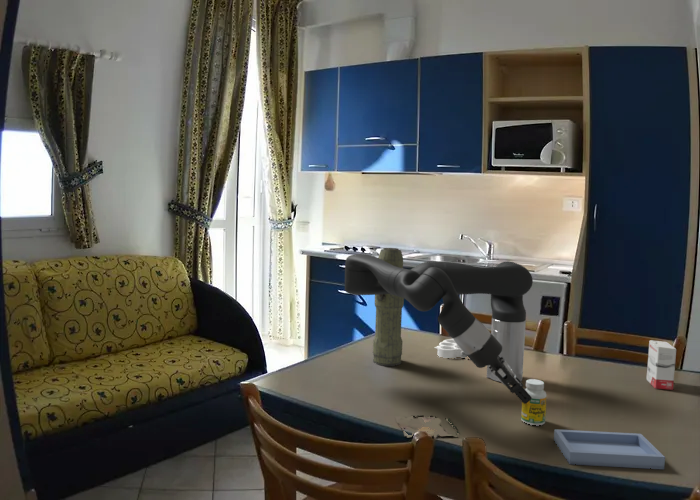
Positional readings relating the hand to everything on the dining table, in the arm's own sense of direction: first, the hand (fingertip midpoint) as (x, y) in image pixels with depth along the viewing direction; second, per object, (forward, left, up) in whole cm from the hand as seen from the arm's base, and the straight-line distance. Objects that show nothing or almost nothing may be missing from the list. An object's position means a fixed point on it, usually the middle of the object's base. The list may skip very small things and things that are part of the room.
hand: (524, 394), depth 135 cm
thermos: (-48, +24, -7) cm, 54 cm away
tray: (+19, -7, -7) cm, 21 cm away
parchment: (-17, -15, -7) cm, 24 cm away
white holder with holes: (-34, +47, -7) cm, 59 cm away
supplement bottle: (+2, +2, -7) cm, 7 cm away
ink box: (+24, +51, -7) cm, 57 cm away
